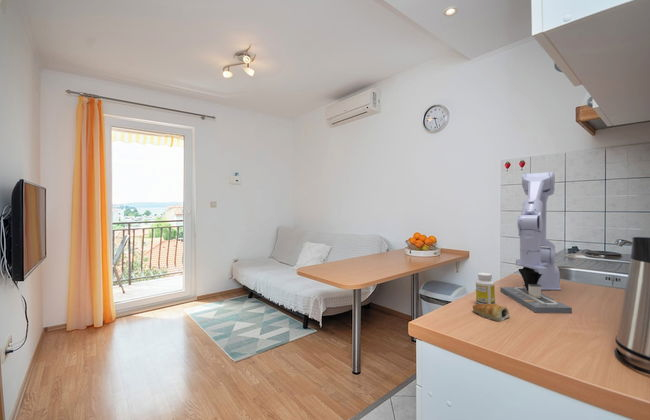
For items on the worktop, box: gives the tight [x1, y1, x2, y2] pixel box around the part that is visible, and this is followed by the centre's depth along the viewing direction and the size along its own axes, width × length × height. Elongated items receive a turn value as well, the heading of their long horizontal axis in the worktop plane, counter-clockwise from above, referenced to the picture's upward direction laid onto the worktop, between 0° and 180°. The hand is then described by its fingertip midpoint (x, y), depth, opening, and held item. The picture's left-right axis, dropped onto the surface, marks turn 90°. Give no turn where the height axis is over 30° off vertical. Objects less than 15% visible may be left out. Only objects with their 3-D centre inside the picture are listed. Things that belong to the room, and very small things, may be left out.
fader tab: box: [528, 284, 542, 298], centre depth 98 cm, size 3×3×4 cm
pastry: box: [471, 303, 510, 322], centre depth 89 cm, size 9×7×4 cm
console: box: [499, 286, 573, 314], centre depth 100 cm, size 10×22×2 cm, turn 174°
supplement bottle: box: [475, 272, 496, 304], centre depth 99 cm, size 5×5×10 cm
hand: (530, 290), depth 101 cm, fingers closed
